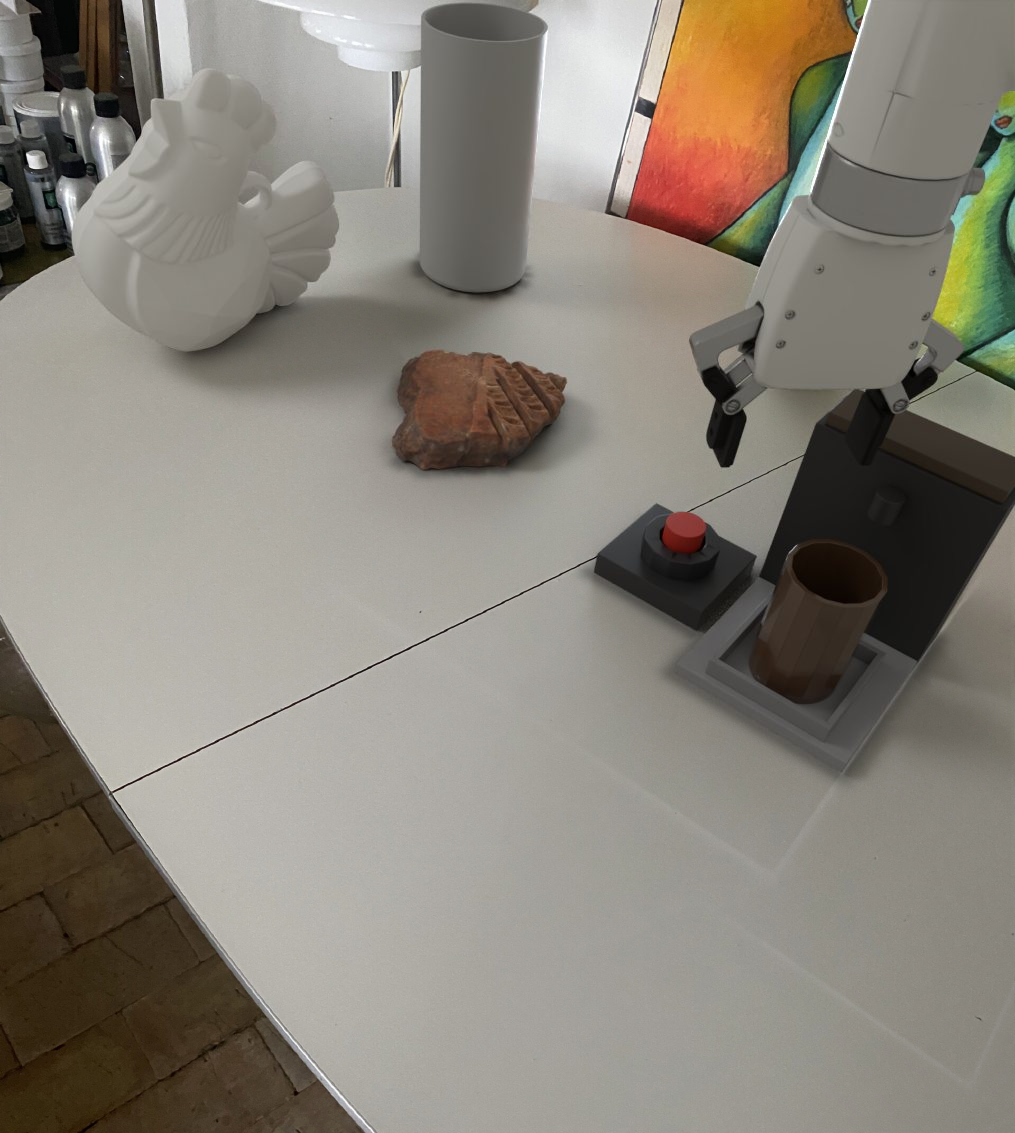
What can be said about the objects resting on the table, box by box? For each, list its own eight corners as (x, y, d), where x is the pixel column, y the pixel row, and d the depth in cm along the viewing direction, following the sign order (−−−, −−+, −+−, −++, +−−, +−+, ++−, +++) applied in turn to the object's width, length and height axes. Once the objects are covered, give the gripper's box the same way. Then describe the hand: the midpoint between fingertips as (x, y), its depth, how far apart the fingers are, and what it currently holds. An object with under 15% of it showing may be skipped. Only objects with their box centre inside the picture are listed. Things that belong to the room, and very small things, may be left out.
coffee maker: (935, 637, 77) (1039, 464, 64) (840, 773, 67) (941, 601, 55) (782, 557, 82) (850, 382, 70) (673, 673, 72) (729, 494, 60)
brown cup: (853, 667, 73) (903, 570, 65) (813, 719, 69) (862, 622, 61) (774, 624, 75) (814, 525, 68) (731, 672, 71) (769, 573, 64)
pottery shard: (561, 386, 98) (566, 350, 95) (568, 478, 87) (573, 441, 84) (402, 375, 97) (402, 339, 94) (389, 466, 86) (389, 429, 84)
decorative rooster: (59, 327, 85) (204, 92, 73) (33, 219, 92) (162, -13, 80) (286, 418, 104) (431, 242, 92) (251, 322, 111) (382, 147, 99)
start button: (708, 540, 77) (713, 523, 76) (688, 559, 76) (693, 543, 74) (675, 522, 79) (679, 506, 77) (654, 541, 77) (658, 524, 76)
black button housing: (750, 575, 80) (763, 539, 78) (695, 632, 76) (707, 595, 73) (651, 522, 84) (660, 485, 81) (593, 573, 79) (600, 536, 76)
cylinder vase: (397, 262, 112) (395, 12, 94) (477, 236, 118) (489, -4, 100) (467, 306, 107) (479, 49, 88) (547, 276, 113) (574, 30, 94)
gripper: (1000, 165, 55) (887, 421, 68) (711, 155, 52) (651, 422, 65) (1066, 223, 50) (931, 487, 63) (751, 215, 47) (678, 491, 60)
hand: (788, 454), depth 64 cm, fingers open, 9 cm apart
